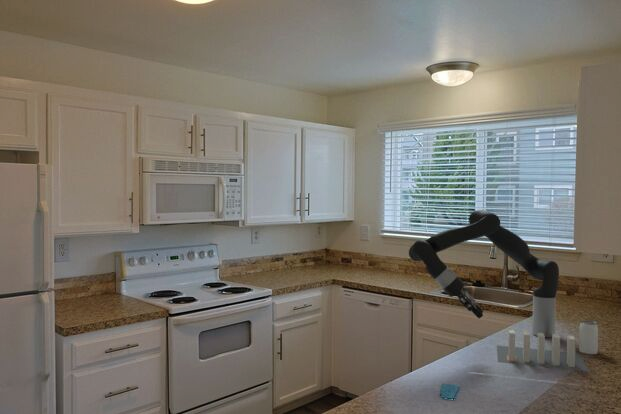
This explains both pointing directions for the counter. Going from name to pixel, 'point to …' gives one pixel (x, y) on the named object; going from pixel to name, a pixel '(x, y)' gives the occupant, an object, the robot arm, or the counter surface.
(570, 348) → the domino
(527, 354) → the domino
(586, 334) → the can
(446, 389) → the sponge
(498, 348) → the slate mat
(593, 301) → the counter surface
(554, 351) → the domino
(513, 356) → the domino
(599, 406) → the counter surface
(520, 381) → the counter surface
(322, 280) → the counter surface
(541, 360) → the domino
